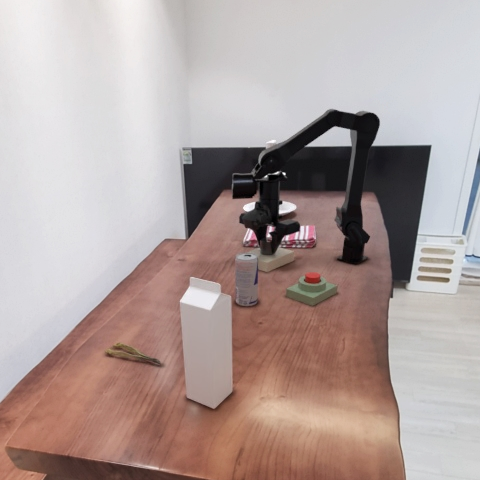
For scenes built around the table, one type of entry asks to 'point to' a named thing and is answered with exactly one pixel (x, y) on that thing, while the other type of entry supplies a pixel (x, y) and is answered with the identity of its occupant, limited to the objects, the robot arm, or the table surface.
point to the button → (312, 278)
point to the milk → (207, 342)
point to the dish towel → (287, 238)
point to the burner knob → (266, 246)
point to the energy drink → (246, 279)
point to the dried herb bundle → (132, 350)
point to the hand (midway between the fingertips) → (267, 251)
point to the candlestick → (285, 206)
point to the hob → (273, 259)
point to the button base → (311, 291)
